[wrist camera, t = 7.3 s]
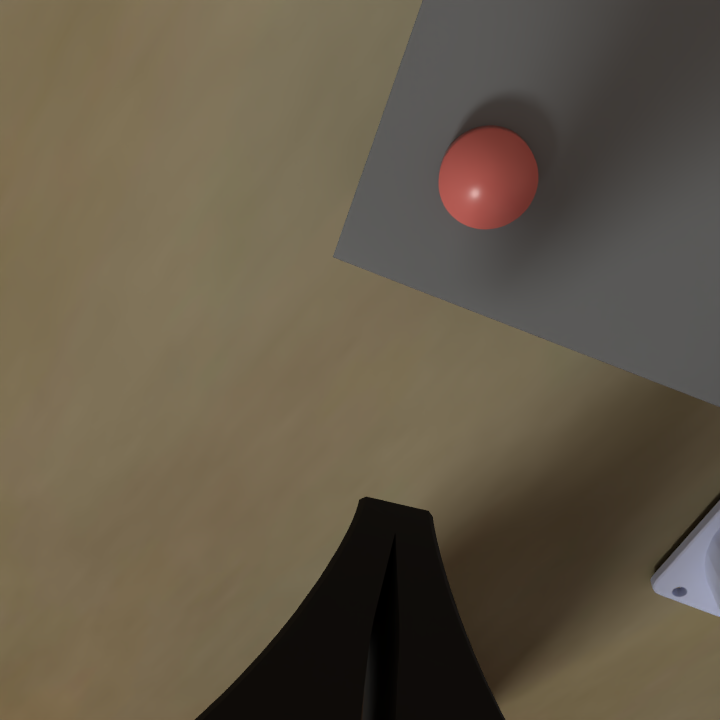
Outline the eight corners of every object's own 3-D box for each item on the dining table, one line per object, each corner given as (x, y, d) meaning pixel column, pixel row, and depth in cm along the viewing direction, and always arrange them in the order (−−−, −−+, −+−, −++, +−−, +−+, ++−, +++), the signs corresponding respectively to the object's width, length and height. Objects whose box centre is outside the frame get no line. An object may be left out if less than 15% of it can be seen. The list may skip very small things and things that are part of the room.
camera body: (1012, 54, 15) (1247, 73, 10) (762, 363, 19) (851, 468, 15) (493, -168, 14) (507, -250, 10) (359, 205, 19) (328, 266, 14)
